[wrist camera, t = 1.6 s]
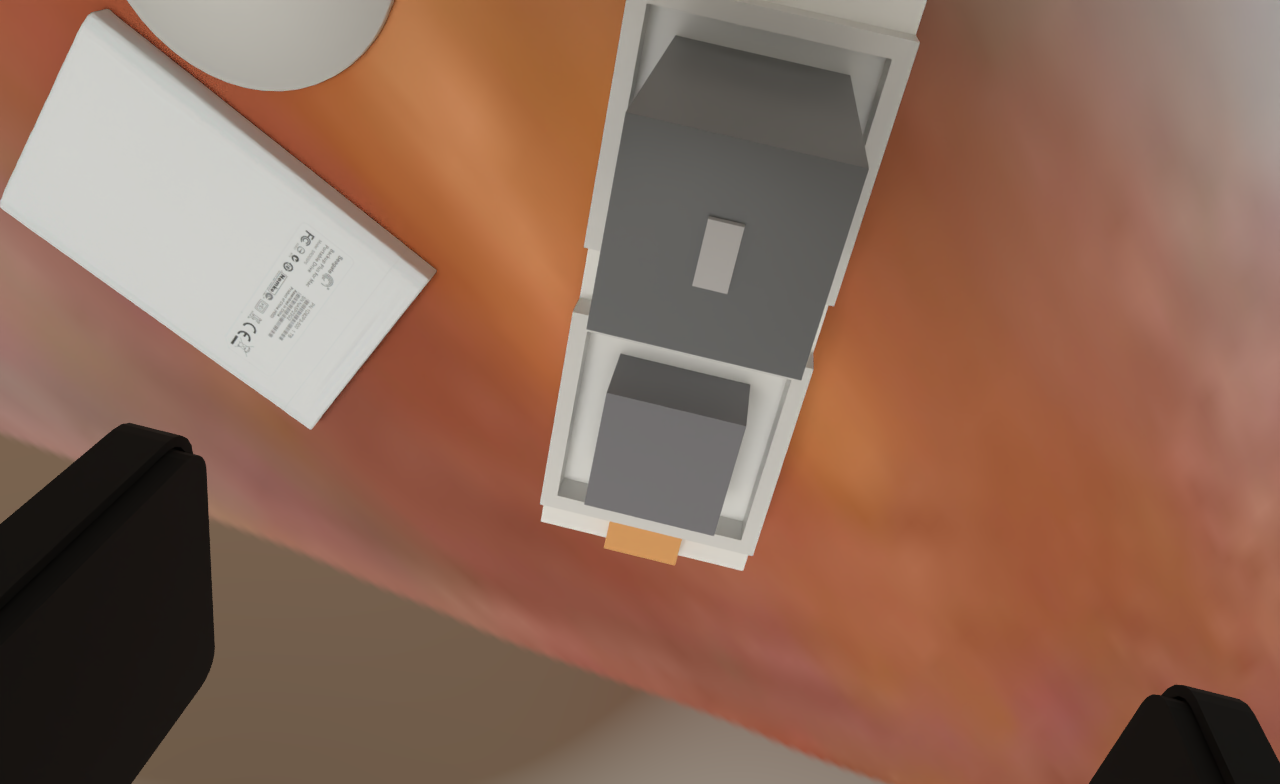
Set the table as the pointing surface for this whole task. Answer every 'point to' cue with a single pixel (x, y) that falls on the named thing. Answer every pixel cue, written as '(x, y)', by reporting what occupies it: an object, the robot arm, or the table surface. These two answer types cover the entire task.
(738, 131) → the charger
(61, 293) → the table surface
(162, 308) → the external hard drive
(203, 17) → the coaster
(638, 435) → the power strip
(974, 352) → the table surface
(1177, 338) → the table surface
